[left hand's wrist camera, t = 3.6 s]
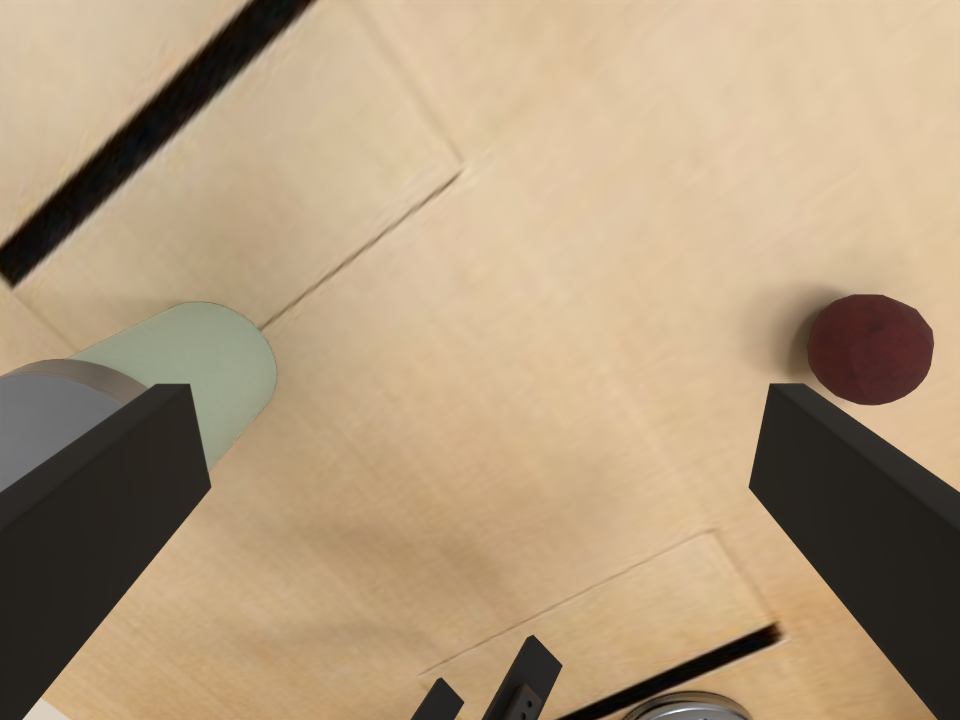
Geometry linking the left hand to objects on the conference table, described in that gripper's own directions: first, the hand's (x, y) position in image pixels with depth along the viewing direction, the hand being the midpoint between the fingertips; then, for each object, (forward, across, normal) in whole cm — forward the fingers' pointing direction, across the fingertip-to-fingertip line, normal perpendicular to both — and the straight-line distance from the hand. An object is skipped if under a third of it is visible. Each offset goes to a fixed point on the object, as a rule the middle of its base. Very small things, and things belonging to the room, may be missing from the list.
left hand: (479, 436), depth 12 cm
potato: (+28, +27, -6) cm, 39 cm away
